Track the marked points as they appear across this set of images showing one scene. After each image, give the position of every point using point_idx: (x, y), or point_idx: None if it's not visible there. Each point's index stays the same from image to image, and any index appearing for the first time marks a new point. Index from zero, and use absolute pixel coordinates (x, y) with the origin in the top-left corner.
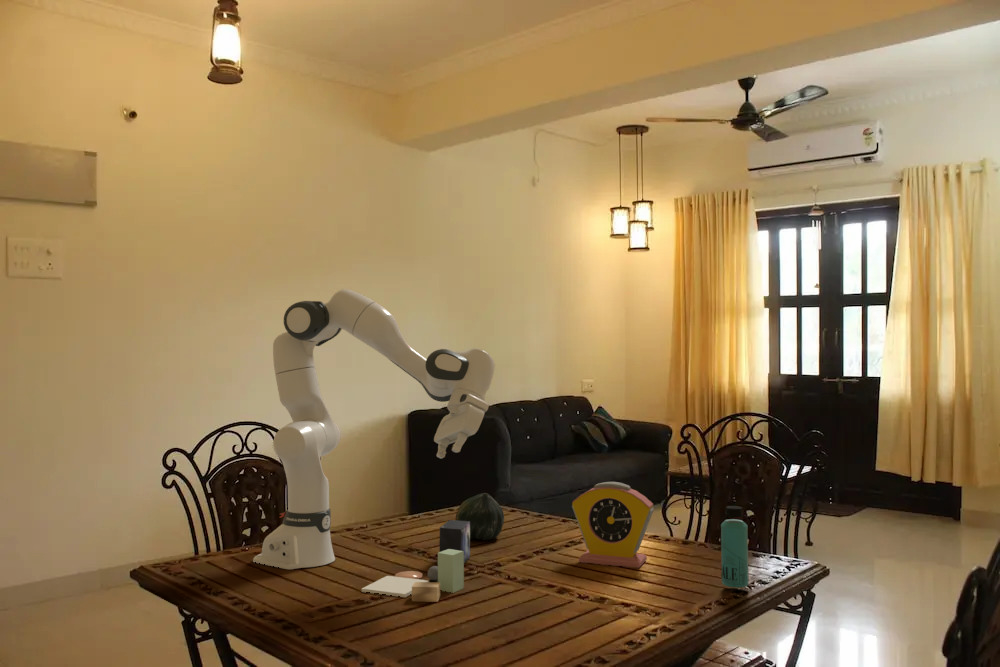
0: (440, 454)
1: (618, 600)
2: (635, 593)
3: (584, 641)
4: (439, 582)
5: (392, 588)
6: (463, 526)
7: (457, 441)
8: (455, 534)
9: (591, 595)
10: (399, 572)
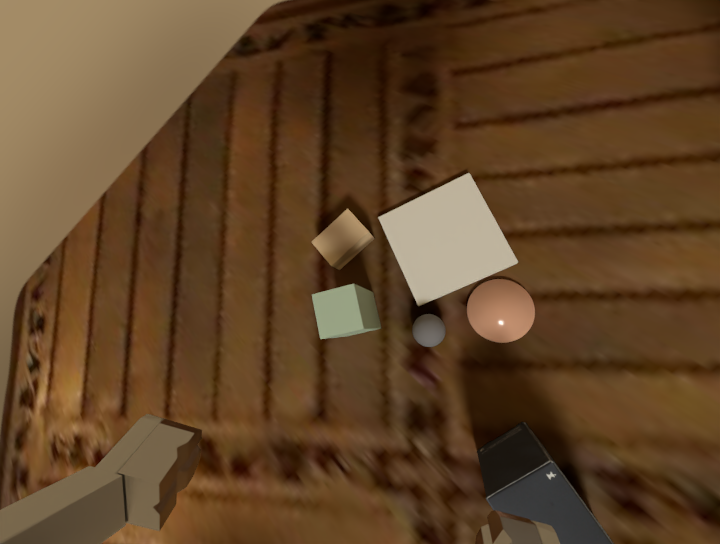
0: (493, 531)
1: None
2: None
3: (78, 286)
4: (331, 264)
5: (425, 218)
6: None
7: (62, 486)
8: (498, 479)
9: None
10: (533, 306)
